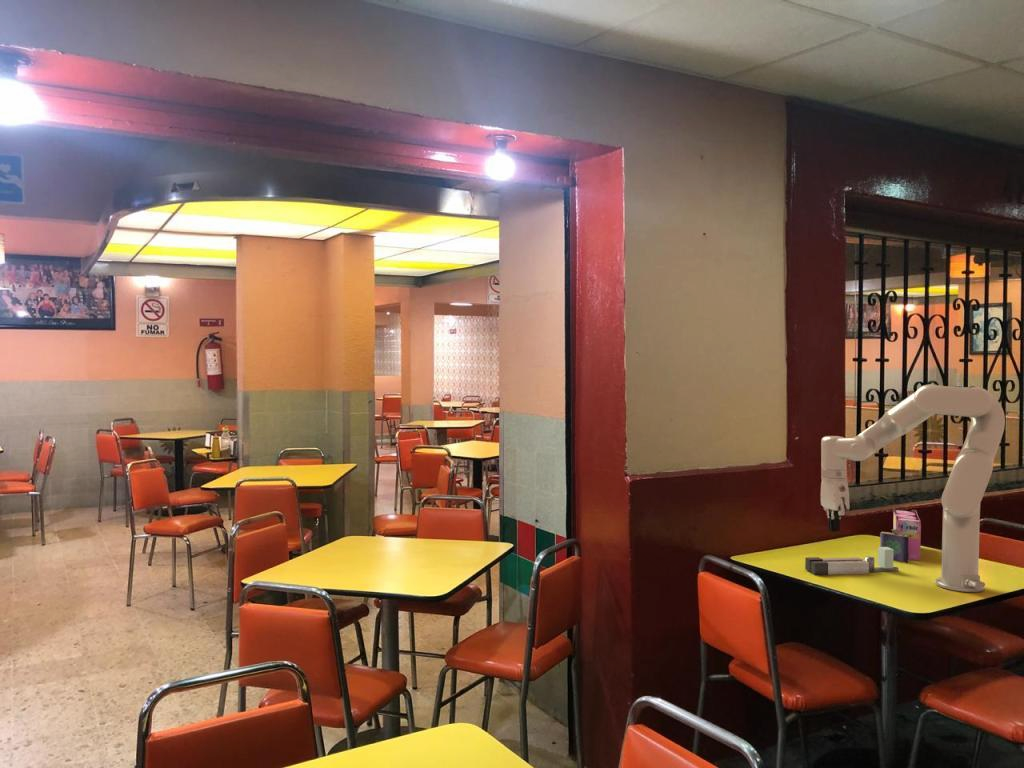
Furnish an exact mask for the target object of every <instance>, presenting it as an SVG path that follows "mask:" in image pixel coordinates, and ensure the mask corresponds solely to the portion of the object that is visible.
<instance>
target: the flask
mask: <svg viewBox="0 0 1024 768" xmlns="http://www.w3.org/2000/svg"><path fill="white" fill-rule="evenodd" d="M896 530H897V529H891V531H892V532H888V531H887V532H886V531H881V532H880V533H879V536H880V539H879V540H880V545H879V547H889V548H891V549H894V554H893V562H894V561H895V562H899V563H905V564H908V563H909V560H908V557H909V555H908V554H909V553H908V540H909V539H908V536H907V535H904V534H901V533H899V532H897V531H896Z"/></svg>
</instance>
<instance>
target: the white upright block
mask: <svg viewBox="0 0 1024 768" xmlns="http://www.w3.org/2000/svg"><path fill="white" fill-rule="evenodd" d="M877 548H878V551H877V566H878V567H883V568H893V567H894V561H893V554H894V549H891V548H889V547H880V546H878V547H877Z"/></svg>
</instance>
